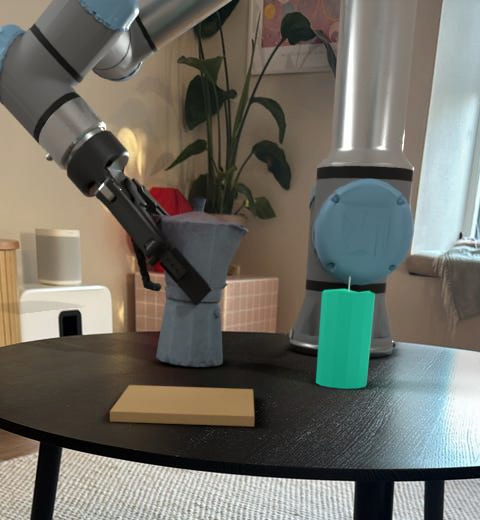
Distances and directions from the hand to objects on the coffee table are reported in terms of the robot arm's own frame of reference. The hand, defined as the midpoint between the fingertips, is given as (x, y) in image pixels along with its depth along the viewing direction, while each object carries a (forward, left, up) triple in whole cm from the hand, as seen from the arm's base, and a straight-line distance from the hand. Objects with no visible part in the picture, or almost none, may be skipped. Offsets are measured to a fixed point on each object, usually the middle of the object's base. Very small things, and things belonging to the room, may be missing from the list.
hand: (212, 294), depth 95 cm
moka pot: (+3, -1, -9) cm, 9 cm away
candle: (-16, +10, -9) cm, 21 cm away
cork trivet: (+1, +26, -9) cm, 28 cm away
